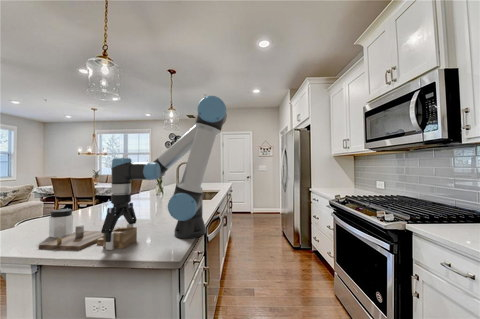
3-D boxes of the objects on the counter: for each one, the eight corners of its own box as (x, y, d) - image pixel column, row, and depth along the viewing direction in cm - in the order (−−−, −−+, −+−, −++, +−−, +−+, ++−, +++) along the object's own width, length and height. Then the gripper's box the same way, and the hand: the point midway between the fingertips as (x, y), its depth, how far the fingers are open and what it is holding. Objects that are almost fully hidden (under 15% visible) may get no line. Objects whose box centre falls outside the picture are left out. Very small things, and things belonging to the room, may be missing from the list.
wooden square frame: (136, 240, 99) (136, 227, 99) (124, 248, 90) (124, 233, 90) (106, 239, 101) (106, 226, 101) (90, 247, 92) (91, 232, 92)
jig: (113, 234, 108) (113, 221, 108) (79, 250, 88) (79, 233, 89) (79, 233, 110) (79, 220, 110) (38, 248, 90) (39, 232, 90)
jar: (47, 239, 102) (48, 212, 102) (50, 234, 109) (50, 209, 109) (71, 235, 107) (72, 210, 107) (73, 231, 114) (73, 208, 114)
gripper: (130, 190, 108) (129, 234, 108) (90, 197, 84) (89, 254, 83) (144, 190, 108) (144, 235, 107) (109, 197, 83) (108, 255, 82)
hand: (120, 243), depth 95 cm, fingers open, 13 cm apart
